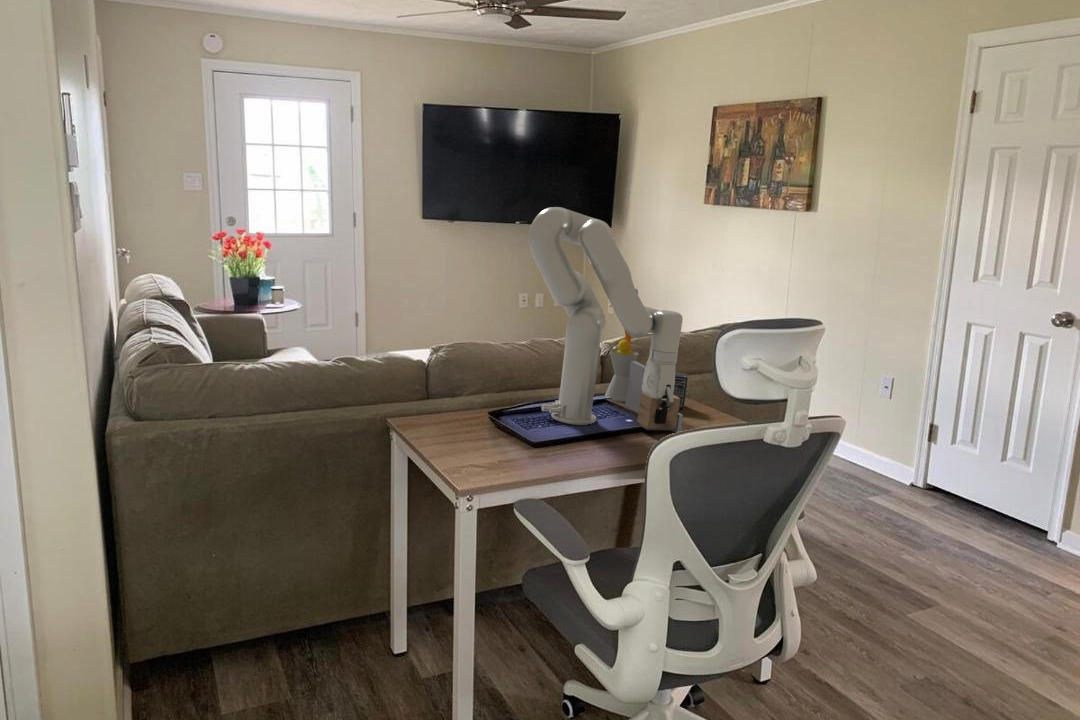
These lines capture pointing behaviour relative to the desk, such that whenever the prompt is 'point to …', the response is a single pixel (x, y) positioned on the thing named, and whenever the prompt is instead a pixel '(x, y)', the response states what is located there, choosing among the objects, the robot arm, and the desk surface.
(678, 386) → the small box
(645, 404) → the wooden block
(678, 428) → the door
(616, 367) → the lava lamp
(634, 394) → the grey rectangular panel
